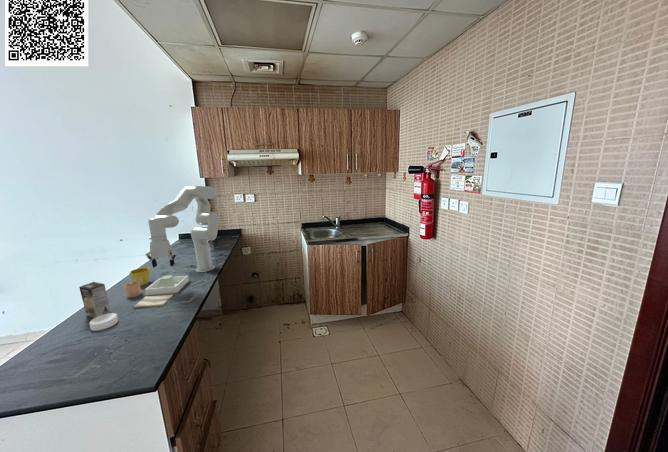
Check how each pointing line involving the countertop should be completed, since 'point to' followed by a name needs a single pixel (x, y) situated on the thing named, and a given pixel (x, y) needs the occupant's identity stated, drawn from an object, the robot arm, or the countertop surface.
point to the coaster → (103, 321)
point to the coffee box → (95, 299)
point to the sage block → (167, 281)
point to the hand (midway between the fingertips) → (163, 266)
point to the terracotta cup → (133, 289)
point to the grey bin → (157, 289)
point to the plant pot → (140, 275)
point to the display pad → (153, 301)
